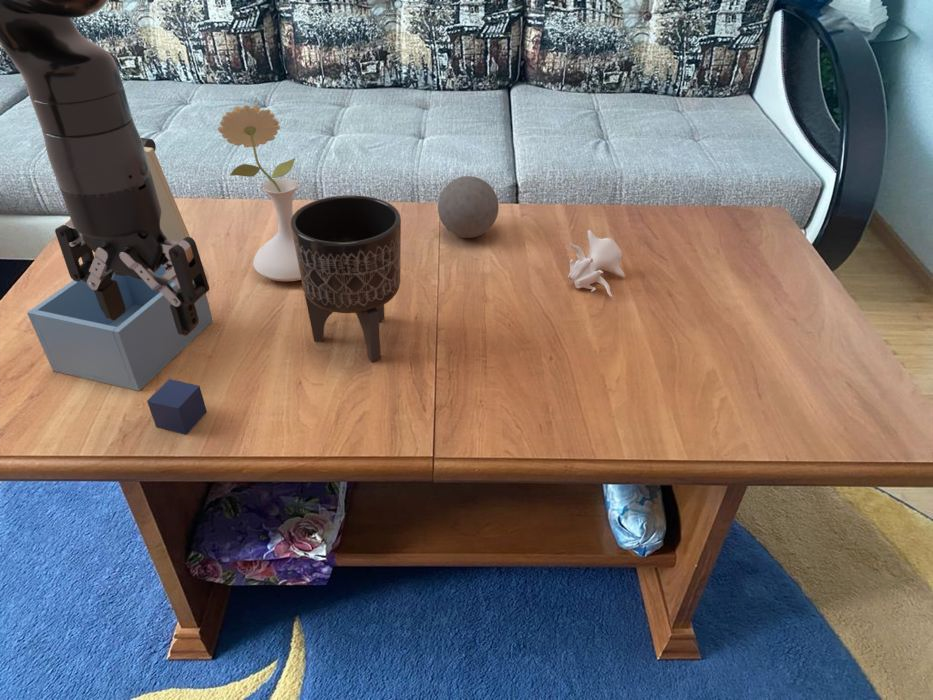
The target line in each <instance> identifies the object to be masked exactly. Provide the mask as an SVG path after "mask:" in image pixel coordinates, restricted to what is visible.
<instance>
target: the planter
mask: <svg viewBox="0 0 933 700" xmlns="http://www.w3.org/2000/svg"><path fill="white" fill-rule="evenodd" d="M401 217H402V216H401V213H400V212H399V210H398V209H397V207H395V206H394V205H393V204H392V203H389V202H387V201H385V200H382V199H380V198H376V197H372V196H367V195H366V196H365V195H354V194H353V195H352V194H350V195H348V194H347V195H336V196H329V197H323V198H320V199H317V200H314V201H311V202H309V203H307V204H305V205H303V206H302V207H300V208H299V209H297V210H296V211H295V212H294V214H293V216H292V218H291V222H290V225H291V230H292V235H293V240H294V245H295V250H296V255H297V260H298V265H299V270H300V275H301V280H300V281H301V284H302V289H303V292H304V297H305V301H306V307H307V313H308V317H309V322H310V328H311V332H312V333H311V334H312V338H313V342H315V343H319V342H324V338H325V325H326V322H327V320H328V318H330V316H331V315H332V314H333V313H335V314H336V313H337V314H355V315H356V317H357V319H358V322H359V324H360V327H361V330H362V334H363V338H364V342H365V346H366V355H367V359H368V360H369V361H370V362H371V363H374V362H377V361H380V360H381V359H382V355H381V334H380V332H381V331H380V323H382V322H383V321H385V318H386V317H385V305H386V304H388V303H389V302H390V301H391V300H393V298H394V297H395V296H396V295H397V293H398V291H399V289H400V286H401V265H402V263H401V261H402V260H401V252H402V251H401V250H402V249H401V248H402V247H401V246H402V245H401V244H402V243H401V240H402V238H401V237H402V218H401Z"/></svg>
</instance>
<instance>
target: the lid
mask: <svg viewBox="0 0 933 700" xmlns="http://www.w3.org/2000/svg"><path fill="white" fill-rule="evenodd" d="M140 138H141V140H142V143H143V146H144V150H145V153H146V157H147V160H148V164H149V168H150V171H151V175H152V178H153V182H154V186H155V189H156V193H157V196H158V200H159V204H160V207H161V218H160V228H161V230H162V232H163V234H164V235H165V236H166V238H167V239H168V240H174V241H181V240H183V239H184V238H186V237H191V235H190V233H189V231H188V229H187V228H188V227H187V225H186V224H185V222H184V218H183V216H182V214H181V212H180V209H179V207H178V204H177V202H176V200H175V197H174V195H173V192H172V189H171V188H170V185H169V183H168V179H167V178H166V176H165V173H164V171H163V168H162V166H161V163H160V161H159V158H158V157H157V154H156V150H157V149H156V148H157V147H156V146H157V145H156V142H155V141H154V140H153V139H152V138H146V137H141V136H140Z"/></svg>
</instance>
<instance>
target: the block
mask: <svg viewBox="0 0 933 700" xmlns="http://www.w3.org/2000/svg"><path fill="white" fill-rule="evenodd" d="M146 402H147V406H148V408H149V411H150V413H151V417H152V419H153V423H154V425H155V427H156V428H158V429H161V430H162V429H163V430H166V431H170V432H174V433H178V434H183V435H186V436H187V435H188V434H189V432H191V431H192V430H193V428H195V426H196V425H197V424H198V423H199V421H200V420H202V418H203V417H204V416H205V415H206V414H207V413H208V410H207V406H206V403H205V399H204V396H203V393H202V389H201V385H198V384H195V383H189V382H185V381H181V380H176V379H172V378H168V379H167V380H166V381H165V382H164V383H163V384H162V385H161V386H160V387H159V388H158V389H157V390H156V391H155V392H154V393H153V394H152V395H151V396H150V397H149V398H148V399H147V401H146Z"/></svg>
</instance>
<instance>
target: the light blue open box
mask: <svg viewBox="0 0 933 700" xmlns="http://www.w3.org/2000/svg"><path fill="white" fill-rule="evenodd" d="M165 272H166V269H165V267H164V266H163V265H162V264H161V266H160V268H159V269H158V270H157V271H156V272H154V274H155V275H156V276H159V277H160V276H162V275H163V274H165ZM111 280H115V281H117V284H118V286H119V289H120V292H121V295H122V298H123V301H124V304H125V307H126V311H125V313H124V314H122V315H121V316H120V317H119V318H117V319H116V320H109V319H107V318H106V317H105V314H104V313H103V311H102V310H101V308H100V306H99V303H98V300H97V297H96V295H95V292H94V290H92V289H90V288H89V287H88V285H87V282H85V281H83V280H81V281H79V282H76V281H74V280H73V279H72V281H70V282H69V283H68V284H66V285H64V286H63V287H62V288H60V289H59V290H57V291H55V292H54V293H53V294H50V296H48V297H47V298H46V299H44V300H42V301H41V302H40V303H38V304H36V305H35V306H34V307H32V308H31V309H30V310H27V312H26V314H27V316H28V318H29V321H30V323H31V325H32V328H33V329H34V332H35V334H36V336H37V338H38V340H39V343H40V346H41V348H42V350H43V352H44V354H45V357H46V359H47V361H48V363H49V367H50V368H51V371H53V372H56V373H61V374H65V375H68V376H74V377H77V378H82V379H85V380H90V381H95V382H99V383H102V384H107V385H111V386H116V387H119V388H123V389H129V390H132V391H137V392H140V391H141V390H142V389H144V387H146V385H148V384H149V383H150V382H151V381H152V380H153V379H154V378H155V377H156V376H157V375H158V374H159V373H161V371H162V370H163V369H164V368H165V367H166V366H167V365H169V364H170V362H172V361H173V360H174V359H175V358H176V357H177V356H178V355H179V354H180V353H181V352H182V351H183V350H184V349H185V348H187V347H188V345H189V344H191V342H192V341H194V340H195V339H196V338H197V337H198V336H199V335H200V334H201V333H202V332H203V331H204V330H205V329H206V328H207V327H208V326H209V325H211V323H212V322H213V321H214V319H213V316H212V313H211V308H210V304H209V300H208V296H207V293H205V294H204V295H203V296H202V297H200V298H199V299H198V300H197V301H196V302H195V303H194V304H195V308H196V311H197V316H198V319H199V322H198V324H197V325H196V327H195V328H194V329H193V330H192V331H191V332H190V333H189V334H188V335H187V336H185V335H180V334H178V332H177V329H176V325H175V322H174V319H173V315H172V312H171V309H170V305H171V303H170V302H169V301H168V300H167V299H166V298H165V296H164V295H163V294H162V293H161V292H160V291H158V290H152V289H151V288H150V287H149V286H148V285H147V284H146V282H145V281H144V280H141V279H136V278H134V277H131V276H129V275H126V276H120V275H114V277H113V278H112V279H111ZM169 284H170V285H171V287H172V288H173V289H174V290H175V291H177V290H178V289H179V288H178V287H177V286H176V285H175V284H174V283H173V281H171V280H169ZM193 284H195V283H194V280H193Z"/></svg>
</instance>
